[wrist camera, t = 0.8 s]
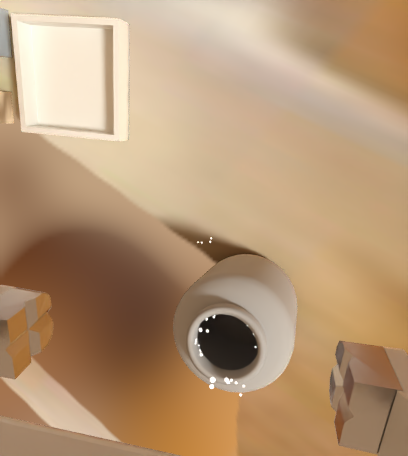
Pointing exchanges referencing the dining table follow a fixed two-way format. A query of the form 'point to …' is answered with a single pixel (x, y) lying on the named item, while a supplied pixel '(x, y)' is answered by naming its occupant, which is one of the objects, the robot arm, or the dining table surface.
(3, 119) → the maple block
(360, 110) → the dining table surface
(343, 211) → the dining table surface
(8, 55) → the slate block
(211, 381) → the jar
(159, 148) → the dining table surface
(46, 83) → the cream tray
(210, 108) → the dining table surface
